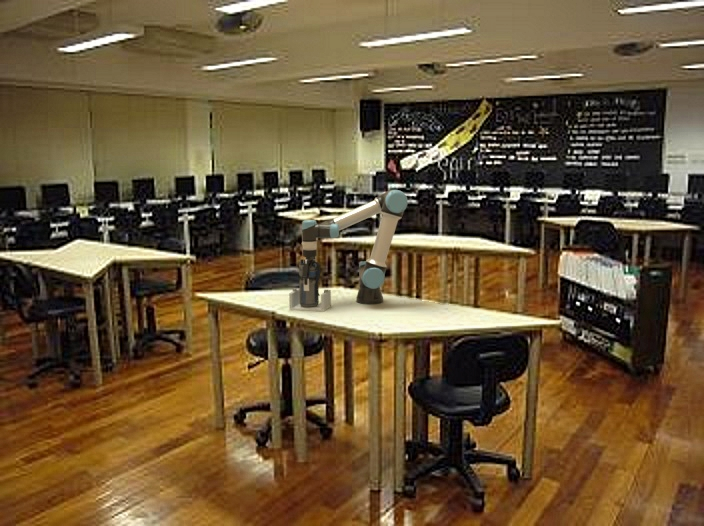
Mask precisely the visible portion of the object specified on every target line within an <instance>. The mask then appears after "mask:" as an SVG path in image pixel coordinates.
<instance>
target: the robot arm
mask: <svg viewBox="0 0 704 526" xmlns="http://www.w3.org/2000/svg"><path fill="white" fill-rule="evenodd" d="M408 203H409V201H408V197H407V195H406V194H405V192H403V191H401V190H398V189H389V190H387V191H386V192H384V193H382V194H380V195H378V196H377V197H375V198H374V200H372V201H369V202H367V203H365V204H363V205H360V206H357V207H356V208H354V209H352V210H350V211H347V212H344V213H342V214H340V215H338V216H335V217H333V218H332V219H328V220H325V221H322V222H321V223H318V222H317V220H314V219H304V220H303V221H302V222H301V224H302V225H301V227H302V228H301V237H302V242H301V245H302V257H304V258H305V259H303V263H304V266H303V274H302V279H304V291H309V279H308V277H309V272H310V268H311V267H312V263H313V262H317V260H316V257H317V254H318V253H317V251H318V250H317V246H318V245H317V239H334V238H335V239H336V238H339V236H340V231H341V230H343V229H346V228H349V227H351V226H352V225H355V224H357V223H359V222H362V221H364V220H366V219H369V218H371V217H373V216H375V215H378V214H382V215H381V216H382V217H381V220H380V222H379V226H378V230H377V233H376V236H375V239H374V244H373V246H372V250H371V253H370V257H369V258H368V259H366V261H365V260H364V261H362V260H361V261H360V262H359V263H358V264H359V265H358V268H359V269H358V270H359V271H358V272H359V273H358V274H359V283H358V287H359V289H358V291H357V295H356V298H355V299H356V300H355V301H356V303H359V304H362V305H364V304H365V305H375V304H376V305H377V304H381V303H383V302H384V296H383V293H382V290H381V286H383V285H384V282H385V278H386V277H385V274H386V270H387V264H386V261H387V258H388V254H389V251H390V248H391V245H392V242H393V238H394V235H395V231H396V228H397V225H398V221H399V220H401V219H403V218H402V217H403V215H404V212H405V210H406V209H407V207H408Z"/></svg>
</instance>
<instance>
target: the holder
mask: <svg viewBox="0 0 704 526" xmlns="http://www.w3.org/2000/svg"><path fill="white" fill-rule="evenodd" d="M331 291H332V290H331V289H323V293H322V294H320V300H321V301H320V303H319V304H318V305H317V306H315V307H303V306H301V305H300V288H295V287H294V288H292V291H291V292H289V293H288V296H289V297H288V298H289V301H288V303H289V311H304V312H305V311H306V312H322V313H323V312H326V311H327V310H328V309H329V308H331V306H332V300H331V298H332V292H331Z"/></svg>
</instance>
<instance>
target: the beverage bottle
mask: <svg viewBox="0 0 704 526" xmlns="http://www.w3.org/2000/svg"><path fill="white" fill-rule="evenodd" d="M298 264H299V265H298V266H299V268H298V272H299V273H298V275H299V277H300V278H299V280H298V281H299V285H298V286H299V287H298V289H300V305H301V306H303V307H315V306H317V305H318V304H320V303H319V302H320V301H319V298H320V297H321V294H320V292H319V291H320V290H319V289H320V288H319V285H320V284H319V282H320V276H321V266H322V265H321V264H320V263H319V262H318V261H316V262H313V263H312V267H311V268H310V272H309V277H308V279H309V291H304V279H302V274H303V266H304V259H300V261H299V263H298ZM319 296H320V297H319Z"/></svg>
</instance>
